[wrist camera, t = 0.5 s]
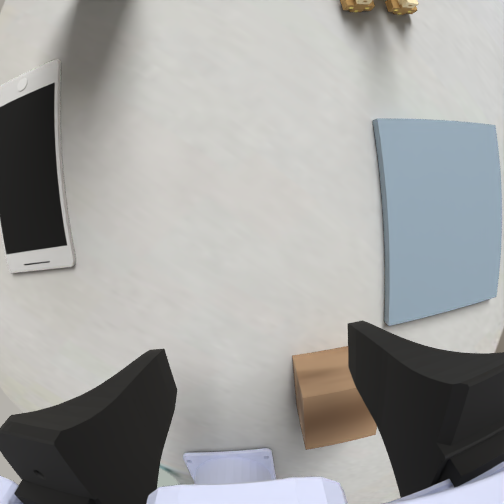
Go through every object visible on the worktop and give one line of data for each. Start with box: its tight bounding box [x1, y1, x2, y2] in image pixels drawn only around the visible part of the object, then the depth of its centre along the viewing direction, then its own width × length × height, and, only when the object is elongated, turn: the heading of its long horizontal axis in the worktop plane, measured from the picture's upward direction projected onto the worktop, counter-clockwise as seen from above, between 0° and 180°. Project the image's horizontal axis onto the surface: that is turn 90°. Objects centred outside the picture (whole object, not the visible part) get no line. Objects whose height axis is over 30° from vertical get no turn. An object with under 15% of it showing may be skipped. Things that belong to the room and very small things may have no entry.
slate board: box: [373, 119, 502, 326], centre depth 19 cm, size 14×11×1 cm
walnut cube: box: [292, 346, 377, 450], centre depth 20 cm, size 5×5×5 cm
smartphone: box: [0, 59, 76, 273], centre depth 18 cm, size 7×16×1 cm, turn 6°
